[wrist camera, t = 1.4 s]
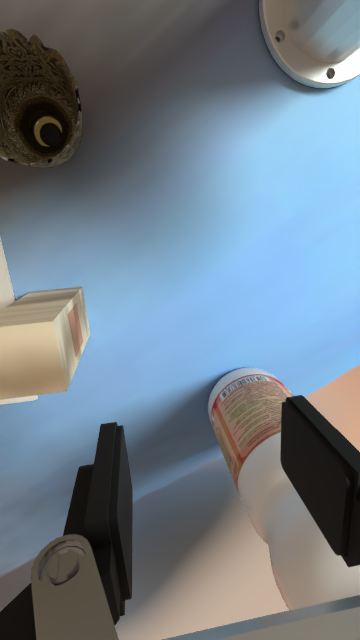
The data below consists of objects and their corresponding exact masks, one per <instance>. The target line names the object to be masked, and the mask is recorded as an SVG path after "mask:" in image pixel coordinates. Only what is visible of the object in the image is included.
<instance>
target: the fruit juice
mask: <svg viewBox="0 0 360 640" xmlns="http://www.w3.org/2000/svg"><path fill="white" fill-rule="evenodd" d="M287 397H293V395H292V393H291V392H290V391H289V390H288V389H287V388H286V387H285V386H284V385H283V384H282V383H281V382H280V381H279V380H278V379H277V378H276V377H275V376H274V375H272V374H271V373H269V372H267V371H265V370H262V369H259V368H254V367H246V368H240V369H237V370H234V371H232V372H230V373H228V374H226V375H225V376H224V377H222V378H221V379H220V380H219V381H218V382H217V383H216V385H215V386H214V388H213V389H212V391H211V394H210V396H209V401H208V414H209V419H210V422H211V424H212V427H213V429H214V432H215V435H216V437H217V440H218V442H219V445H220V447H221V450H222V452H223V455H224V458H225V460H226V462H227V465H228V467H229V470H230V473H231V475H232V478H233V480H234V483H235V485H236V488H237V491H238V493H239V496H240V499H241V502H242V504H243V506H244V509H245V511H246V513H247V515H248V517H249V519H250V521H251V523H252V525H253V527H254V528H255V530H256V532H257V533H258V535H259V536H260V537H261V538H262V539H263V540H264V541H265V542H266V543H267V544H268V546H269V552H270V559H271V566H272V571H273V575H274V578H275V582H276V585H277V587H278V589H279V591H280V593H281V595H282V598H283V600H284V602H285V603H286V606H287V607H288V609H289V611H290V610H294V609H298V608H303V607H307V606H312V605H316V604H321V603H325V602H330V601H334V600H339V599H343V598H348V597H352V596H357V595H360V565H358V566H353V567H348V566H347V565H346V563H345V561H344V560H343V558H342V557H341V555H340V556H337V555H336V554H335V553H334V552H333V550H332V549H331V547H330V545H329V544H328V542H327V540H326V539H325V537H324V535H323V534H322V532H321V531H320V529H319V527H318V526H317V524H316V522H315V521H314V519H313V518H312V516H311V514H310V513H309V511H308V509H307V508H306V506H305V505H304V503H303V501H302V500H301V498H300V496H299V495H298V493H297V491H296V490H295V488H294V487H293V485H292V483H291V482H290V480H289V478H288V477H287V475H286V474H285V472H284V470H283V468H282V466H281V461H280V452H281V408H282V402H285V400H286V398H287Z"/></svg>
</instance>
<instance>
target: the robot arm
mask: <svg viewBox="0 0 360 640" xmlns="http://www.w3.org/2000/svg"><path fill="white" fill-rule="evenodd" d="M259 15H260V21H261V28H262V32H263V35H264V38H265V41H266V44H267V46H268V48H269V50H270V52H271V54H272V56H273V58H274V60H275V61H276V62H277V63H278V65H279V66H280V67H281V69H282V70H283V71H284V72H285V73H287V74H288V75H289V76H290V77H291V78H292V79H294V80H296V81H298V82H300V83H301V84H303V85H307V86H310V87H314V88H331V87H336V86H340V85H342V84H344V83H347V82H349V81H351V80H353V79H354V78H355V77H357V76H359V75H360V0H259ZM276 40H277V41H278V42H277V41H276ZM326 76H327V77H326ZM280 461H281V466H282V468H283V470H284V472H285V474H286V475H287V477H288V478H289V480H290V482H291V483H292V485H293V487H294V488H295V490H296V491H297V493H298V495H299V496H300V498H301V500H302V501H303V503H304V505H305V506H306V508H307V509H308V511H309V513H310V514H311V516H312V518H313V519H314V521H315V522H316V524H317V526H318V527H319V529H320V531H321V532H322V534H323V535H324V537H325V539H326V540H327V542H328V544H329V545H330V547H331V549H332V550H333V552H334V553H335V554H336V555H337V556H340V555H341V557H342V558H343V560H344V561H345V563H346V565H347V566H348V567H353V566H358V565H360V452H359V451H358V450H357V449H356V448H355V447H354V446H353V445H352V444H351V443H350V442H349V441H348V440H347V439H346V438H345V437H344V436H343V435H342V434H341V433H340V432H339V431H338V430H337V429H335V428H334V427H333V426H332V425H331V424H330V423H329V422H328V421H327V420H326V419H325V418H324V417H323V416H322V415H321V414H320V413H319V412H318V411H317V410H316V409H315V408H314V407H313V406H312V405H311V404H310V403H309V402H308V401H307V400H306V399H305V398H304V397H303V396H302V395H300V396H293V397H287V398H286V400H285V402H282V408H281V452H280ZM131 597H132V483H131V477H130V470H129V463H128V456H127V450H126V443H125V436H124V429H123V425H122V426H117V422H114V423H107V424H101V426H100V432H99V438H98V444H97V449H96V455H95V461H94V464H93V465H86V466H80V467H79V469H78V473H77V477H76V482H75V486H74V490H73V495H72V499H71V503H70V508H69V512H68V517H67V521H66V525H65V530H64V534H63V536H62V537H59V538H57V539H55V540H54V541H52V542H50V543H49V544H48V545H47V546H46V547H45V548H44V549H42V550H41V552H40V553H39V555H38V556H37V557H36V559H35V561H34V564H33V566H32V569H31V583H30V584H29V586H27V587H26V588H25V589H24V590H23V591H22V592H21V593H20V594H19V595H18V596H17V597H16V598H15V599H13V600H12V601H11V602H10V603H9V604H8V605H7V606H6V607H5V608H4V609H3V610H2V611H1V612H0V640H119V639H118V636H117V632H116V629H115V625H116V623H117V622H118V620H119V617H120V616H123V615H124V614H125V613H124V612H125V600H128V599H131ZM163 640H360V595H357V596H352V597H348V598H343V599H339V600H334V601H330V602H325V603H321V604H316V605H312V606H307V607H303V608H298V609H294V610H290V611H285V612H281V613H277V614H272V615H267V616H263V617H258V618H254V619H250V620H245V621H241V622H236V623H232V624H228V625H224V626H219V627H215V628H211V629H206V630H202V631H197V632H193V633H189V634H185V635H180V636H176V637H172V638H168V639H163Z"/></svg>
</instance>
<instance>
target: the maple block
mask: <svg viewBox="0 0 360 640" xmlns="http://www.w3.org/2000/svg"><path fill="white" fill-rule="evenodd" d="M89 336H90V331H89V325H88V319H87V313H86V307H85V301H84V295H83V289H82V287H76V288H66V289H56V290H45V291H35V292H29V293H28V294H26V295H24V296H23V297H21V298H20V299H18V300H16V301H15V302H13V303H12V304H10V305H8V306H7V307H5V308H4V309H2V310H1V311H0V400H4V399H11V398H19V397H26V396H34V395H42V394H49V393H57V392H64V391H67V389H68V387H69V384H70V382H71V380H72V377H73V375H74V372H75V370H76V367H77V365H78V362H79V360H80V358H81V355H82V353H83V350H84V348H85V345H86V343H87V340H88V338H89Z"/></svg>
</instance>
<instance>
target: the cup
mask: <svg viewBox="0 0 360 640" xmlns="http://www.w3.org/2000/svg"><path fill="white" fill-rule="evenodd" d="M30 42H31V43H30ZM46 124H53V125H55V126H56V127H57V128H58V129H59V131H60V140H59V141H58V143H56V144H55V145H49V144H47V143H45V142H44V141H43V139H42V137H41V129H42V127H43V126H44V125H46ZM82 130H83V120H82V110H81V103H80V98H79V93H78V86H77V83H76V81H75V79H74V77H73V75H71V73H70V71H69V68H68V66H67V64H66V63H65V61H64V59H63V58H62V56H61V55H60V54H59V53H58V52H57V51H56V50H54V49H51V48H50V49H49V48H47V47H45V46H44V45H43V43H42V41H41V40H40V39H39V38H38V37H37V36H35V35H33V34H32V36H31V37H30V41H28V40H27V39H26V38H25V37H24V36H23V35H22V34H21V33H20V32H18V31H16V30H14V29H9V30H7V31H6V33H4V32H3V33H2V32H0V158H1V159H3V160H6V161H11V162H14V163H16V164H20V165H26V166H31V167H38V168H48V167H54V166H58V165H60V164H62V163H64V162H66V161H67V160H68V159H69V158H71V157H72V155H73V154H74V153H75V151H76V150H77V148H78V146H79V144H80V141H81V137H82Z"/></svg>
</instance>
